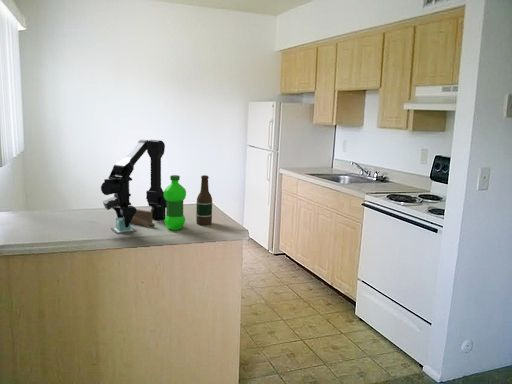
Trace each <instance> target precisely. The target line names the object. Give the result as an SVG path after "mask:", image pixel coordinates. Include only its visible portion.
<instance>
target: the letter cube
mask: <svg viewBox="0 0 512 384" xmlns="http://www.w3.org/2000/svg"><path fill="white" fill-rule="evenodd" d="M131 224H132V223H130V224H129V226H128V227H127V228H126V227H125V223H124V217H121V218H117V217H116V218H115V228H116V229H117V230H119V231H126V230H131V227H132V226H131Z"/></svg>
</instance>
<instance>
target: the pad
mask: <svg viewBox="0 0 512 384" xmlns="http://www.w3.org/2000/svg"><path fill="white" fill-rule="evenodd" d="M110 230H111V231H112V232H113V233H115V234H116V235H120V234H127V233H128V234H129V233H134V232H137V230H136V229H135V228H133V226H131V230H126V231H119V230H117V229H116V227H110Z"/></svg>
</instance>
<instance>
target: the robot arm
mask: <svg viewBox="0 0 512 384" xmlns="http://www.w3.org/2000/svg"><path fill="white" fill-rule="evenodd" d="M165 147H166V144H165V142H164V141H163V140H157V139H139V140H138V142H137V143H136V145H135V146H134V147H133V148H132V149H131V151H130V152H129V153H128V154H127V155H126V157H124V158H123V159H120V160H119V161H117V162H116V163H114V165H113V167H112V169H111V172H110V174H109V176H108V177H107V178H104V179H103V180H104V182H102V183H101V185H100V191H101V193H102V194H103V195H105V196H109V195H113V196H112V197H110V198H108V199H105V200H103V201H102V204H103V206H104V209H106V210H108V211H109V210H111V209H113V210H114V211H115V214H116V218H121V217H124V223H125V227H126V228H127V227H128V226H129V224H131V223H130V222H131V220H132V218H133V216H134V215H135V213H136V209H137V208H136V207H135V206H134V205H132V203H131V201H130V197H131V195H132V194H131V193H130V182H131V181H133V178H132V177H130V176H131V175H132V173H133V171H134V168H135V164H136V163H137V162H138V160H140V158H141V157H142V156H143V155H144V153H146V151H147V154H148V156H149V158H150V187H149V189H148V190H146V193H145V194H146V197H145V200H146V201H147V203H148V204H147V205H148V206H149V207H151V209H150V211H151V212H152V221H160V220H161V221H163V220H165V217H166V199H165V198H164V190H163V188H162V158H163V156H164V154H165Z"/></svg>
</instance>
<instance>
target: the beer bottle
mask: <svg viewBox="0 0 512 384" xmlns="http://www.w3.org/2000/svg"><path fill="white" fill-rule="evenodd" d="M200 178H201V181H200V183H201V184H200V192H199V194H198V195H197V197H196V214H195V215H196V225H198V226H202V227H203V226H210V225H212V220H213V197H212V195H211V192H210V191H209V178H210V177H209V175H207V174H206V175H201V176H200Z"/></svg>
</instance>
